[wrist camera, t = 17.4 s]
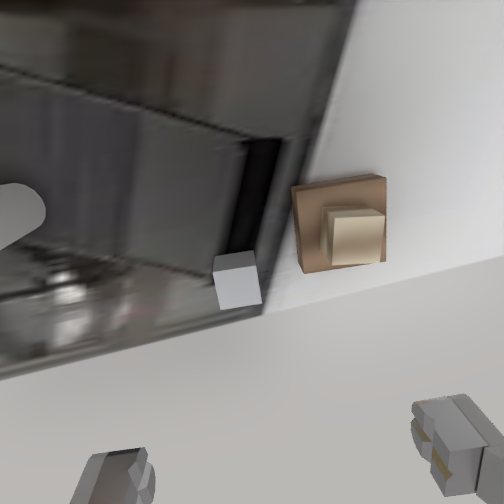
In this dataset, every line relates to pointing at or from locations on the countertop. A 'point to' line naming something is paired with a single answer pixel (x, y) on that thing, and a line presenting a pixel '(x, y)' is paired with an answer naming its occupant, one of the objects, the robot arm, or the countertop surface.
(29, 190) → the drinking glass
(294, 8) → the countertop surface
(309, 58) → the countertop surface
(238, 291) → the grey block
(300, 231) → the walnut block
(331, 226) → the ash block
